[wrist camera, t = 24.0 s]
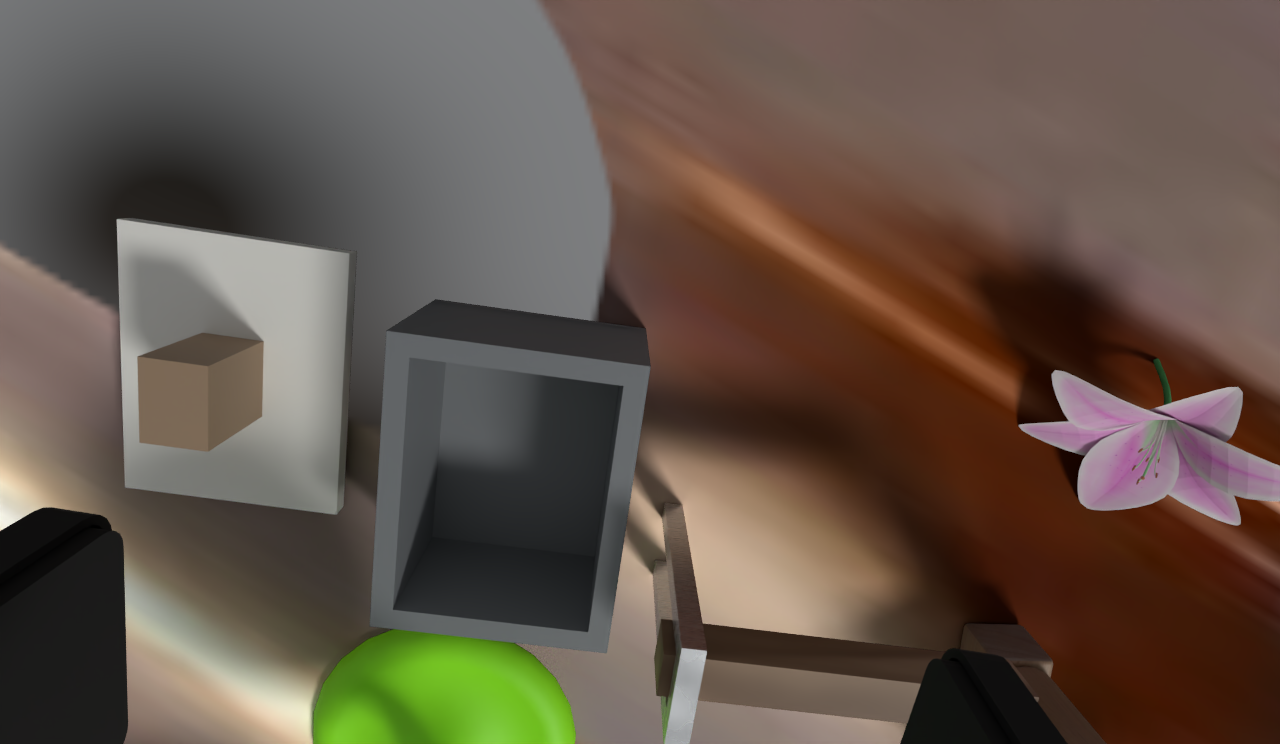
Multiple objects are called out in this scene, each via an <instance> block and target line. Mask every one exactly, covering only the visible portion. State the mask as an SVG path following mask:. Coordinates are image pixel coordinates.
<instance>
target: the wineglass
mask: <svg viewBox="0 0 1280 744" xmlns="http://www.w3.org/2000/svg"><path fill="white" fill-rule="evenodd" d="M575 736H576V732H575V727H574V722H573V717H572V712H571V707H570V704H569V702H568V700H567V699H566V697H565V695H564V693H563V691H562V689H561V687H560V685H559V684H558V682H557V680H556V678H555V677H554V676H553V675H552V674H551V673H550V672H549V671H548V670H547V669H546V668H545V667H544V666H543V665H542V664H541V663H540V662H539V660H538V659H537V658H536V657H535V656H534V655H533V654H531V653H529V652H528V651H526V650H524V649H523V648H521V647H520V646H518V645H516V644H515V643H512V642H503V641H494V640H486V639H477V638H468V637H459V636H451V635H442V634H433V633H424V632H415V631H407V630H398V629H393V630H390V631H388V632H385V633H383V634H380V635H378V636H375V637H372V638H370V639H367V640H366V641H365V642H363V643H362V644H361V645H359V646H358V647H357V648H355V649H354V650H353V651H351V652H350V653H349V654H347V655H346V656H345V657H343V658H342V659H341V660H340V662H339V663H338V664H337V666H336V667H335V668H334V670H333V671H332V672H331V674H330V675H329V676H328V678H327V679H326V680H325V682H324V683H323V686H322V689H321V692H320V695H319V698H318V701H317V704H316V707H315V710H314V715H313V744H575Z"/></svg>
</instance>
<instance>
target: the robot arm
mask: <svg viewBox="0 0 1280 744" xmlns="http://www.w3.org/2000/svg"><path fill="white" fill-rule="evenodd" d="M127 728H128V705H127V666H126V627H125V587H124V548H123V540H122V537H121V535H120V534H119V533H117V532H116V531H112V529H111V525H110V523H109V521H108V520H107V518H105V517H103V516H101V515H96V514H90V513H83V512H77V511H70V510H64V509H58V508H41V509H39V510H36V511H34V512H32V513H30V514H29V515H27V516H25V517H24V518H22V519H20V520H18V521H17V522H15V523H13V524H12V525H10V526H8V527H7V528H5V529H3V530H1V531H0V744H123V743H124V740H125V737H126V733H127ZM900 744H1068V743H1067V742H1066V741H1065V739H1064V738H1063V737H1062V735H1061V734H1060V732H1059V731H1058V730H1057V728H1056V727H1055V726H1054V724H1053V723H1052V721H1051V720H1050V719H1049V717H1048V716H1047V715H1046V713H1045V712H1044V710H1043V709H1042V708H1041V706H1040V705H1039V704H1038V702H1037V701H1036V699H1035V698H1034V697H1033V695H1032V694H1031V692H1030V691H1029V690H1028V688H1027V687H1026V686H1025V684H1024V683H1023V681H1022V680H1021V679H1020V677H1019V676H1018V675H1017V673H1016V672H1015V670H1014V669H1013V668H1012V666H1011V665H1010V664H1009V662H1008V661H1007V660H1006V659H1005V658H1004V657H1001V656H999V655H995V654H988V653H982V652H975V651H969V650H963V649H956V648H952V649H949V650H947V651H946V652H945V653H944V654H943V656H942V658H941V659H937V658H936V659H932V660H931V661H930V662H929V664H928V666H927V668H926V671H925V673H924V676H923V679H922V682H921V685H920V688H919V691H918V694H917V697H916V700H915V703H914V705H913V708H912V711H911V714H910V717H909V720H908V723H907V726H906V729H905V732H904V735H903V738H902V740H901V743H900Z"/></svg>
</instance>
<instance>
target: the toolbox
mask: <svg viewBox="0 0 1280 744" xmlns="http://www.w3.org/2000/svg"><path fill="white" fill-rule="evenodd" d="M650 367H651V366H650V358H649V350H648V342H647V334H646V328H639V327H632V326H624V325H617V324H610V323H603V322H595V321H588V320H580V319H573V318H566V317H559V316H552V315H544V314H537V313H530V312H523V311H516V310H508V309H501V308H494V307H487V306H480V305H472V304H465V303H457V302H451V301H443V300H434V301H432V302H431V303H429V304H428V305H426V306H424V307H423V308H421V309H420V310H418V311H417V312H415V313H414V314H412V315H411V316H409V317H407V318H406V319H404V320H402V321H401V322H399V323H398V324H396V325H395V326H393V327H392V328H390V329H388V330H387V331H386V347H385V365H384V381H383V399H382V417H381V434H380V452H379V470H378V487H377V505H376V522H375V540H374V558H373V575H372V593H371V610H370V626H371V627H380V628H389V629H398V630H407V631H415V632H424V633H433V634H442V635H451V636H459V637H468V638H477V639H486V640H494V641H503V642H512V643H521V644H530V645H538V646H547V647H556V648H565V649H573V650H582V651H591V652H600V653H607V648H608V642H609V635H610V629H611V622H612V616H613V609H614V603H615V596H616V589H617V583H618V576H619V570H620V563H621V557H622V550H623V544H624V537H625V531H626V524H627V517H628V511H629V504H630V498H631V491H632V485H633V478H634V472H635V465H636V459H637V452H638V445H639V439H640V432H641V426H642V419H643V413H644V406H645V400H646V393H647V387H648V380H649V373H650ZM662 523H663V532H664V542H665V551H666V561H660V560H655V565H654V571H653V587H654V603H655V618H656V633H657V639H658V633H659V627H660V622H661V619H668V620H673V629H674V638H675V648H676V657H675V663H674V668H673V674H672V679H671V685H670V691H669V696H668V697H664V696H661V710H662V725H663V740H664V744H689V743H690V737H691V732H692V727H693V722H694V717H695V712H696V706H697V701H698V696H699V691H700V686H701V680H702V675H703V670H704V665H705V660H706V655H707V647H706V641H705V635H704V629H703V623H702V617H701V611H700V606H699V600H698V594H697V588H696V582H695V576H694V570H693V564H692V559H691V553H690V547H689V541H688V535H687V529H686V523H685V517H684V511H683V506H682V505H680V504H672V503H665V504H664V510H663V516H662Z"/></svg>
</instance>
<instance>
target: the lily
mask: <svg viewBox="0 0 1280 744" xmlns="http://www.w3.org/2000/svg"><path fill="white" fill-rule="evenodd" d="M1153 363H1154V365H1155V367H1156V370H1157V372H1158V375H1159V378H1160V381H1161V384H1162V387H1163V393H1164V405H1163V406H1160V407H1157V408H1154V409H1151V410H1146V409H1143V408H1140V407H1138V406H1135V405H1133V404H1131V403H1128V402H1126V401H1124V400H1121V399H1119V398H1117V397H1115V396H1113V395H1111V394H1109V393H1107V392H1105V391H1103V390H1101V389H1099V388H1097V387H1095V386H1093V385H1092V384H1090V383H1088V382H1086V381H1084V380H1082V379H1080V378H1078V377H1076V376H1073V375H1071V374H1069V373H1067V372H1064V371H1058V370H1055V371H1054V372H1053V373H1052V384H1053V388H1054V391H1055V394H1056V397H1057V400H1058V402H1059V404H1060V407H1061V409H1062V411H1063V413H1064V414H1065V416H1066V418H1067V419H1068V420H1069V421H1067V422H1048V423H1031V424H1020V425H1018V426H1019V427H1020V428H1021V430H1022V431H1024V432H1026V433H1027V434H1029V435H1031V436H1033V437H1035V438H1037V439H1039V440H1042V441H1044V442H1046V443H1048V444H1051V445H1053V446H1056V447H1059V448H1061V449H1064V450H1067V451H1070V452H1073V453H1076V454H1080V455H1085V457H1084V459H1083V460H1082V463H1081V466H1080V469H1079V474H1078V498H1079V501H1080V503H1081V504H1083V505H1084V506H1085V507H1086V508H1089V509H1092V510H1121V509H1128V508H1136V507H1140V506H1144V505H1148V504H1152V503H1154V502H1156V501H1158V500H1160V499H1162V498H1164V497H1165V496H1166V495H1167V494H1169V495H1170V496H1172V497H1173V498H1175V499H1177V500H1178V501H1180V502H1181V503H1183V504H1185V505H1187V506H1189V507H1191V508H1193V509H1195V510H1197V511H1198V512H1201V513H1203V514H1205V515H1207V516H1210V517H1212V518H1214V519H1216V520H1219V521H1222V522H1225V523H1228V524H1232V525H1239V524H1241V518H1240V513H1239V509H1238V506H1237V503H1236V500H1235V497H1234V495H1235V496H1239V497H1243V498H1246V499H1254V500H1264V501H1280V466H1279V465H1276V464H1273V463H1271V462H1268V461H1266V460H1264V459H1261V458H1259V457H1256V456H1254V455H1252V454H1249V453H1247V452H1245V451H1243V450H1241V449H1238V448H1236V447H1234V446H1232V445H1230V444H1228V443H1226V441H1227V440H1228V439H1230V438H1231V437H1232V435H1233V433H1234V431H1235V429H1236V426H1237V423H1238V420H1239V417H1240V412H1241V407H1242V397H1243V393H1242V391H1241V390H1240V388H1239V387H1227V388H1223V389H1219V390H1215V391H1211V392H1208V393H1204V394H1200V395H1197V396H1193V397H1190V398H1186V399H1183V400H1180V401H1176V402H1173V403H1171V393H1170V387H1169V384H1168V381H1167V378H1166V375H1165V372H1164V370H1163V368H1162V365H1161V363H1160V360H1159V359H1154V361H1153ZM1180 421H1181V422H1182V423H1181V422H1180Z"/></svg>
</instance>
